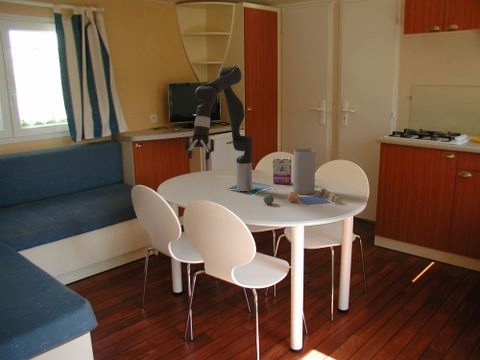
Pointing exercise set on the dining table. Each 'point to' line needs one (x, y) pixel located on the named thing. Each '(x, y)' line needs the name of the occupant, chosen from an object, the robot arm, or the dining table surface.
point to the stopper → (330, 196)
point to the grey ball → (268, 199)
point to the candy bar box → (282, 171)
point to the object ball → (293, 197)
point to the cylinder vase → (304, 171)
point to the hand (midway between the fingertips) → (198, 159)
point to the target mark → (313, 200)
